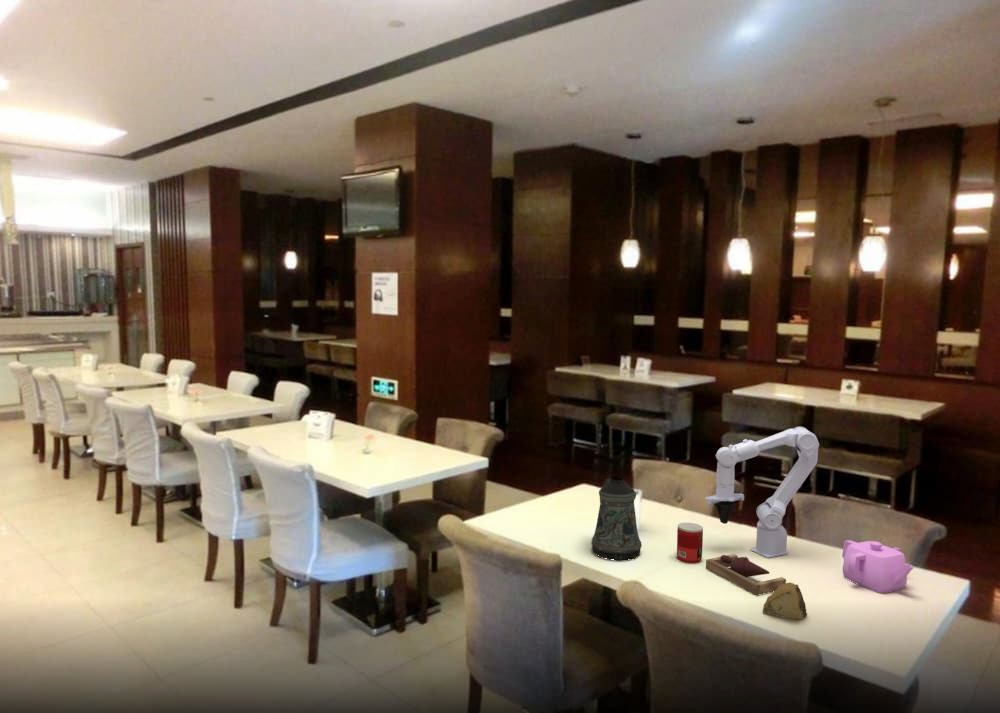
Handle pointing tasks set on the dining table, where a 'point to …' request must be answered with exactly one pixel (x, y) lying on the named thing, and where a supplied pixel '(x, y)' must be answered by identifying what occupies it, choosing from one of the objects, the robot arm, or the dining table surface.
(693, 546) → the canned food
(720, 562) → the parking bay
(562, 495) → the dining table surface
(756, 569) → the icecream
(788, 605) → the rock
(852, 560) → the teakettle
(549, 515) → the dining table surface
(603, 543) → the beer stein
